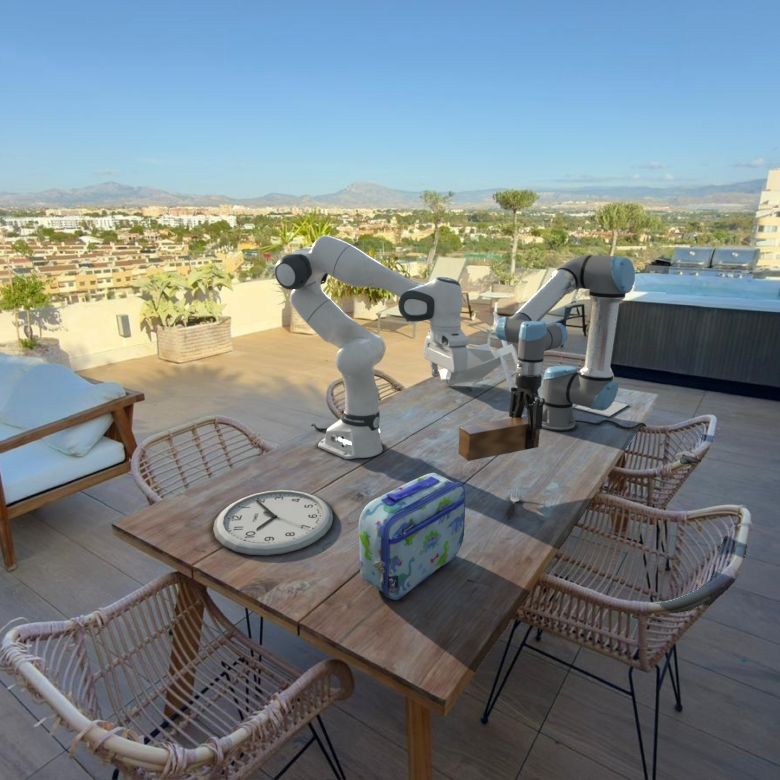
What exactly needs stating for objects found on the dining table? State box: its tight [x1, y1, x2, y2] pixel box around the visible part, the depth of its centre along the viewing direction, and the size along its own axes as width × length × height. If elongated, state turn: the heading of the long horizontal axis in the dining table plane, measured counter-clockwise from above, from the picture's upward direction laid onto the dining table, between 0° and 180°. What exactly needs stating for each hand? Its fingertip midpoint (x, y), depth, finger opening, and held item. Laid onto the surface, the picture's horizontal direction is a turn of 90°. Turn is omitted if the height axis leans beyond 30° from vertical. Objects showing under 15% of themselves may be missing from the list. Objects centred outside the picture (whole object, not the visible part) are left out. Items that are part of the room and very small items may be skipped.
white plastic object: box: [438, 310, 518, 393], centre depth 245 cm, size 37×45×31 cm
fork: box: [508, 487, 522, 521], centre depth 143 cm, size 3×16×2 cm, turn 160°
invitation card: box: [573, 400, 629, 418], centre depth 226 cm, size 21×1×15 cm
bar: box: [457, 415, 541, 462], centre depth 159 cm, size 25×6×9 cm, turn 113°
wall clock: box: [212, 489, 334, 556], centre depth 134 cm, size 30×2×30 cm
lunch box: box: [358, 472, 466, 601], centre depth 112 cm, size 26×11×21 cm, turn 134°
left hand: (442, 380), depth 156 cm, fingers open, 8 cm apart
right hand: (522, 444), depth 164 cm, fingers closed on bar, 6 cm apart
